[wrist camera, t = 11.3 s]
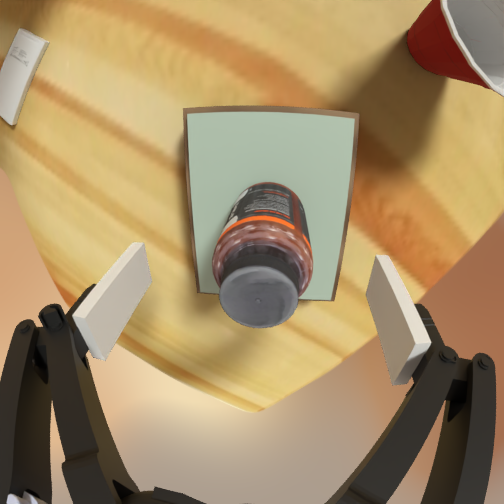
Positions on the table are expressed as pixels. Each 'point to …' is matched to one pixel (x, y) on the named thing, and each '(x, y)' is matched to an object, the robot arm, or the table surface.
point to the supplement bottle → (263, 256)
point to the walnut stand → (271, 177)
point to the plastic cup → (461, 41)
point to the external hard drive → (19, 72)
